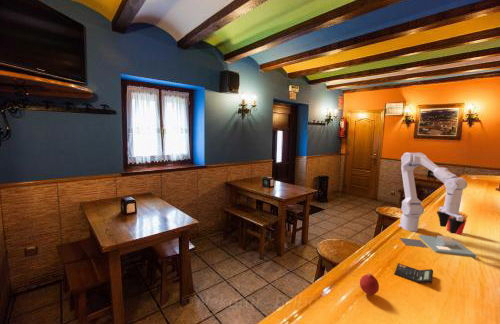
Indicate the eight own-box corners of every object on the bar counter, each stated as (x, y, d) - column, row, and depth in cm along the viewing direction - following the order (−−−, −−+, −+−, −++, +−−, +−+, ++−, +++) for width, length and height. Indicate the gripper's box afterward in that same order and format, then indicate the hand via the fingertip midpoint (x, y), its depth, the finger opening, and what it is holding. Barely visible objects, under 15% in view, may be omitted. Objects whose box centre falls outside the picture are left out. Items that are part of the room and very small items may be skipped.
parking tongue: (398, 239, 124) (398, 237, 124) (419, 241, 122) (420, 239, 122) (405, 247, 116) (405, 245, 116) (428, 249, 115) (428, 247, 115)
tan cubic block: (435, 244, 120) (437, 235, 119) (447, 246, 119) (448, 236, 118) (441, 249, 115) (443, 240, 114) (453, 251, 114) (455, 241, 113)
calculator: (398, 264, 102) (398, 258, 101) (432, 276, 94) (433, 269, 94) (394, 275, 94) (395, 268, 94) (430, 288, 87) (432, 281, 87)
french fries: (444, 230, 138) (447, 210, 136) (446, 228, 140) (450, 209, 138) (463, 236, 131) (467, 215, 129) (465, 234, 133) (469, 213, 131)
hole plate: (418, 238, 126) (418, 234, 126) (452, 242, 123) (453, 238, 123) (435, 254, 111) (436, 249, 110) (475, 258, 108) (476, 254, 107)
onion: (371, 288, 85) (374, 268, 84) (381, 300, 80) (384, 278, 78) (355, 288, 85) (358, 268, 84) (364, 300, 80) (366, 278, 78)
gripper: (434, 197, 121) (430, 222, 123) (452, 206, 107) (447, 235, 109) (450, 198, 120) (445, 224, 122) (470, 208, 106) (465, 237, 108)
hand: (447, 229), depth 116 cm, fingers open, 7 cm apart
